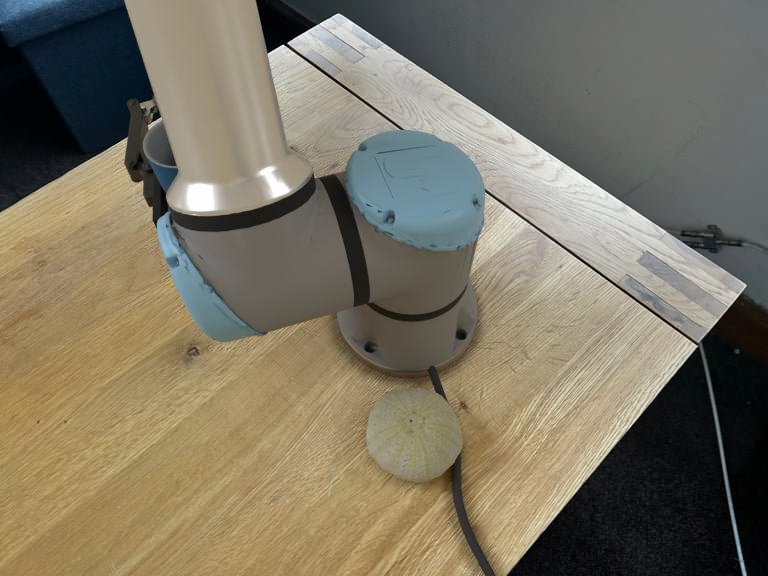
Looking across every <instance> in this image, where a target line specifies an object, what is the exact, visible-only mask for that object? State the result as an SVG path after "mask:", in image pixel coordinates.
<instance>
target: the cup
mask: <svg viewBox="0 0 768 576" xmlns="http://www.w3.org/2000/svg"><path fill="white" fill-rule="evenodd" d="M143 150H144V153H145V155H146V157H147V159H148V161H149V163H150V165H151V167H152V169H153V171H154V173H155V175H156V176H157V178H158V180H159V182H160V184H161V186H162V188H163V190H164V192H165V194H167V191H168V189H169V187H170V185H171V184H172V182H173V181H174V179H175V177H176V176H177V174H178V168H177V165H176V162H175V158H174V155H173V152H172V149H171V146H170V143H169V140H168V136H167V133H166V130H165V127H164V124H163V121H162V119H161V120H160V121H158V122H157V123H155V124H154V125H152V126H151V127H150V128H149V131H148V132H147V134H146V136H145V137H144V141H143Z"/></svg>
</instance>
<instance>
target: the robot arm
mask: <svg viewBox="0 0 768 576" xmlns="http://www.w3.org/2000/svg"><path fill="white" fill-rule="evenodd" d="M123 1H124V5H125V8H126V10H127V13H128V17H129V20H130V23H131V26H132V29H133V32H134V36H135V39H136V42H137V46H138V48H139V51H140V55H141V57H142V60H143V64H144V68H145V70H146V73H147V76H148V79H149V83H150V87H151V90H152V92H153V95H152V97H151V98H152V99H151V100H147V101H143V102H139V100H138V99H136V98H130V99H128V100H127V102H126V105H127V108H128V111H129V113H130V119H129V126H128V133H127V141H126V147H125V153H124V155H125V156H124V161H123V164H124V166H125V167H124V168H125V169H126V172H127V173H128V176H129V177H130V180H131V181H132V183H135V184H139V183H141V182H142V196H143V198H144V200H145V203H146V204H147V206H148V208H152V222H153V224H154V227H155V229H156V233H157V239H158V242H159V247H160V250H161V253H162V255H163V258H164V259H165V261H166V264H167V266H168V268H169V271H170V276H171V279H172V281H173V283H174V286H175V288H176V290H177V292H178V295H179V296H180V298H181V301H182V302H183V304H184V306H185V308H186V309H187V311H188V313H189V315H190V316H191V318H192V320H193V321H194V323H195V324H196V325H197V327H198V328H199V330H200V331H201V332H202V333H203V334H204V335H205V336H206V337H208V338H210V339H212V340H214V341H215V342H219V343H230V342H234V341H239V340H242V339H246V338H250V337H254V336H255V337H264V336H267V335H268V334H269V333H271V332H274V331H277V330H280V329H284V328H288V327H292V326H295V325H298V324H302V323H306V322H309V321H312V320H315V319H319V318H323V317H326V316H330V315H333V314H336V322H337V323H336V324H337V328H338V332H339V334H340V337H341V339H342V341H343V343H344V345H345V347H346V348H347V350H349V352H350V353H351V354H352V355H353V356H354V357H355V358H356V359H357V360H358V361H359V362H360V363H362V364H363V365H365V366H366V367H368V368H370V369H371V370H374V371H376V372H378V373H380V374H384V375H387V376H391V377H397V378H419V377H426V376H429V378H430V382H431V384H432V387H433V389H434V392H436V393H438V394H439V395H442V397H443V398H444V399H445V400H446V401H447V402H448V404H449V405H450V403H449V400H448V397H447V395H446V391H445V390H444V387H443V384H442V382H441V379H440V376H439V372H441V371H443V370H444V369H446V368H448V367H450V366H452V365H453V364H454V363H455V362H456V361H458V360H459V359H460V358H461V357H462V355H463V354H464V353H466V350H467V349H468V348H469V347H470V345H471V342H472V341H473V339H474V335H475V331H476V329H477V324H478V320H479V303H478V298H477V294H476V291H475V289H474V288H475V287H474V286H473V283H472V280H471V277H470V276H471V272H472V267H473V263H474V259H475V254H476V250H477V246H478V241H479V237H480V235H481V233H482V230H483V228H484V225H485V204H486V202H485V201H486V189H485V182H484V179H483V177H482V175H481V172H480V170H479V169H478V167H477V165H476V163H474V161H473V160H472V159H471V158H470V157H469V155H468V154H466V152H464V151H463V150H462V149H461V148H459V147H458V146H456V145H455V144H453V143H452V142H451V141H446V140H442V139H440V138H439V137H438V136H437V135H435V134H433V133H429V132H425V131H421V130H413V129H395V130H387V131H382V132H380V133H379V132H378V133H377V134H374V135H372V136H369V137H367V138H366V139H365V140H363V141H362V142H361V143H359V145H358V148H357V150H354V151H353V152H351V154H350V156H349V158H348V160H347V162H346V166H345V167H344V169H345V170H343V171H338V172H335V173H331V174H327V175H323V176H319V177H315V173H314V169H313V165H312V162H311V161H310V160H309V159H308V158H307V157H305V156H304V155H302V154H301V153H299V152H297V151H295V150H294V149H293V150H292V149H291V148H290V147H291V146H289V144H288V140H287V135H286V131H285V127H284V122H283V117H282V113H281V109H280V104H279V100H278V95H277V91H276V86H275V82H274V81H275V80H274V77H273V71H272V67H271V64H270V58H269V54H268V50H267V45H266V40H265V37H264V31H263V27H262V24H261V23H262V22H261V18H260V14H259V10H258V4H257V1H256V0H123ZM156 113H158V115H159V116H160V118H161V120H162V121H163V124H164V127H165V130H166V133H167V136H168V140H169V143H170V146H171V149H172V152H173V155H174V158H175V162H176V165H177V168H178V174H177V176H176V177H175V179H174V181H173V182H172V184H171V185H170V187H169V189H168V191H167V194H165V192H164V190H163V188H162V186H161V184H160V182H159V180H158V178H157V176H156V175H155V173H154V171H153V169H152V167H151V165H150V163H149V161H148V159H147V157H146V155H145V153H144V150H143V141H144V137H145V136H146V134H147V132H148V131H149V130H150V128H149V125H152V124H153V123H152V120H153V118H154V117H153V116H154V114H156ZM168 206H169V209H170V212H168ZM451 488H452V498H453V504H454V508H455V513H456V515H457V519H458V522H459V524H460V527H461V530H462V533H463V536H464V537H465V540H466V542H467V544H468V546H469V548H470V550H471V552H472V554H473V556H474V559H475V560H476V561H477V563H478V565H479V567H480V569H481V571H482V573H483V575H484V576H497V575H496V573H495V570H494V569H493V567H492V566H491V563H490V561H489V560H488V558H487V557H486V554H485V552H484V550H483V548H482V547H481V545H480V543H479V540H478V539H477V537H476V534H475V533H474V529H473V528H472V525H471V522H470V519H469V517H468V514H467V510H466V507H465V501H464V496H463V490H462V451H461V452H460V453H459V455H458V456H457V458H456V460H455V463H454V464H452V466H451Z"/></svg>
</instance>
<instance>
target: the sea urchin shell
mask: <svg viewBox="0 0 768 576" xmlns="http://www.w3.org/2000/svg"><path fill="white" fill-rule="evenodd" d="M448 403H449V401H448V402H447V401H446V400H445V399H444V398H443V397H442V395H439V394H438V393H436V392H435V390H431V389H427V388H423V387H400V388H397V389H394V390H390V391H386V392H385V393H384V394H383V395H381V397H379V398H378V399H377V401H376V402H375V403H374V405H373V407H372V409H371V410H370V412H369V417H368V421H367V425H366V429H365V440H366V448H367V451H368V453H369V455H370V457H371V459H372V460H374V462H375V463H377V464H378V466H379V467H380V468H381V469H382V470H384V472H387V473H389V474H391V475H393V476H394V477H395V478H396V479H399V480H403V481H407V482H410V483H414V484H420V483H421V484H425V483H428V482H430V481H431V480H435V479H437V478H439V477H441V476H442V475H443V474H445V472H446V471H447V470H448V469H450V467H452V464H454V463H455V460H456V458H457V456H458V455H459V453H460V452H461V453H462V450H463V444H464V443H463V442H464V437H463V432H462V427H461V423H460V420H459V419H458V417H457V415H456V412H455V410H454V407H453V406H452V405H450V403H449V404H448Z"/></svg>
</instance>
